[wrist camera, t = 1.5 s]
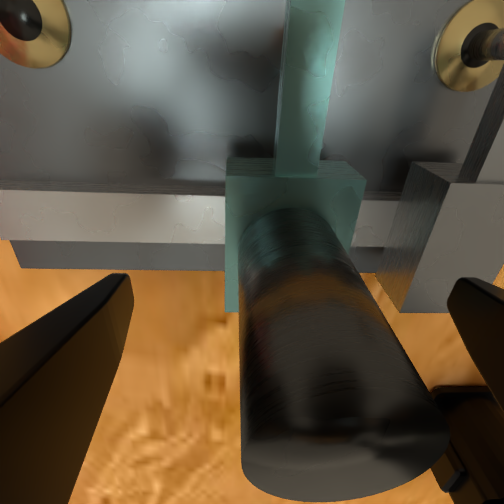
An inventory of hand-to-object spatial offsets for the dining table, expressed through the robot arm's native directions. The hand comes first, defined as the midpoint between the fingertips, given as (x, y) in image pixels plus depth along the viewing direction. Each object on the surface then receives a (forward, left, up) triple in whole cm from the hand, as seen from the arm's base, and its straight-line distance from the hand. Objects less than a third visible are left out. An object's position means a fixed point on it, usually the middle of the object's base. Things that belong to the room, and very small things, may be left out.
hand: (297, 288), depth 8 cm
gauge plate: (+1, -3, -6) cm, 7 cm away
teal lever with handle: (0, -2, -4) cm, 5 cm away
